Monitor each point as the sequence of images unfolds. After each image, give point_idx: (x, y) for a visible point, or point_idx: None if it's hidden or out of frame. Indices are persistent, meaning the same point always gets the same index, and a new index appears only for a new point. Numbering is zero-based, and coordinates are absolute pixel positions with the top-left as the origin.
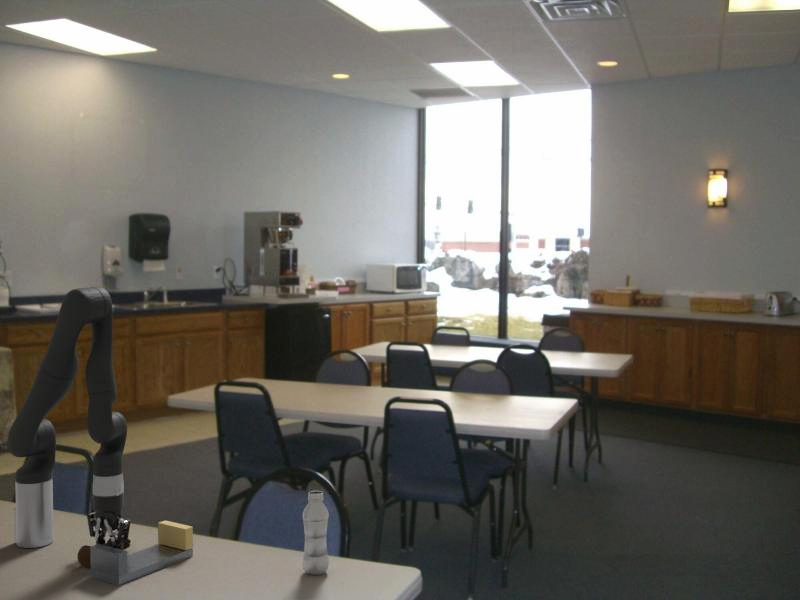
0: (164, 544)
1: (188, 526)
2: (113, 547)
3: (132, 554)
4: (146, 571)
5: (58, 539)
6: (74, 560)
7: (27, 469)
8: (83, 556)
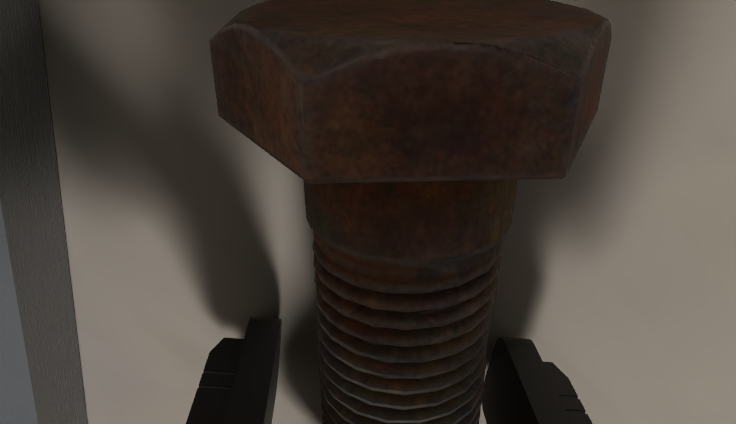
0: None
1: None
2: (228, 417)
3: (11, 420)
4: None
5: None
6: (694, 138)
7: None
8: (458, 11)
